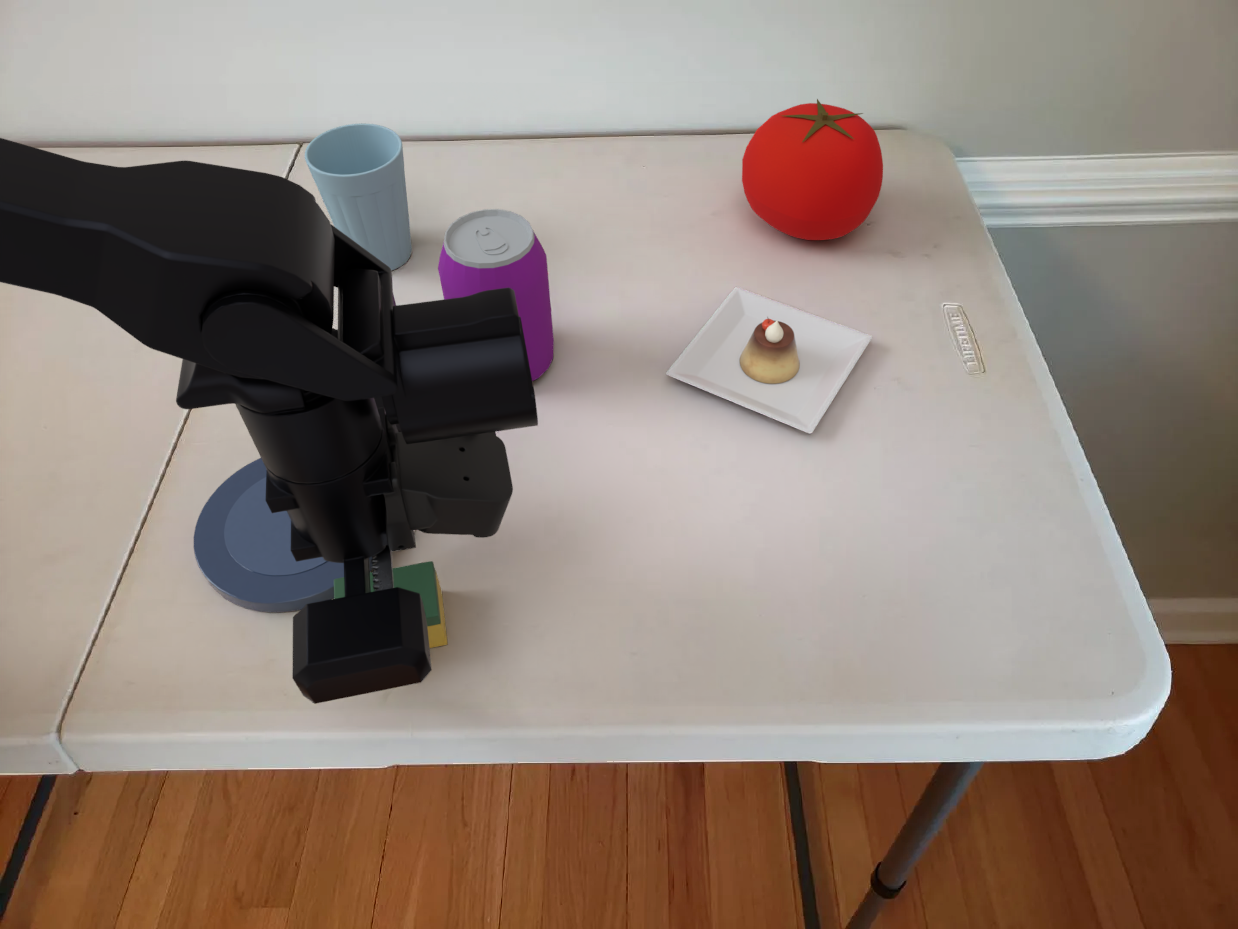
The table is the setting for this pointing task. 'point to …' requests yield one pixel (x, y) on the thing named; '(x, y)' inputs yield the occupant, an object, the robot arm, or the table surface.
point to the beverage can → (502, 272)
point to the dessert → (771, 358)
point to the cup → (364, 187)
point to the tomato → (813, 171)
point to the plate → (257, 549)
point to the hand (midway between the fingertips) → (388, 607)
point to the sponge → (428, 586)
